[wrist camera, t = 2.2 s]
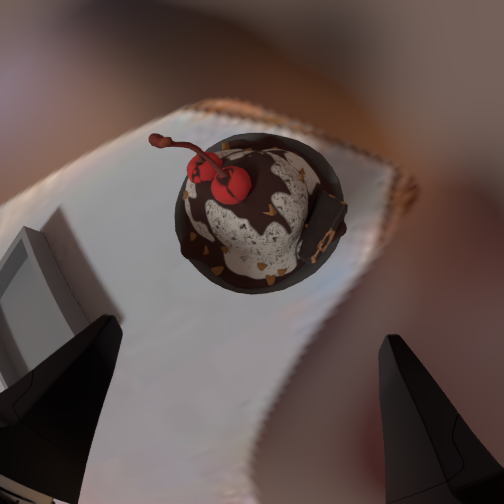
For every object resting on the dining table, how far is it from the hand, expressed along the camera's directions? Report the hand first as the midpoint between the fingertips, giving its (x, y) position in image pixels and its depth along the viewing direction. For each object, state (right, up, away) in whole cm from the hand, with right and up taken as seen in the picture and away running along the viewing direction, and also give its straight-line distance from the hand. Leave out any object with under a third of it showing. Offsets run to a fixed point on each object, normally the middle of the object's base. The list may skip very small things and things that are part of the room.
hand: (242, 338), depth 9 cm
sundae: (+2, +3, +12) cm, 13 cm away
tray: (-21, -5, +13) cm, 26 cm away
